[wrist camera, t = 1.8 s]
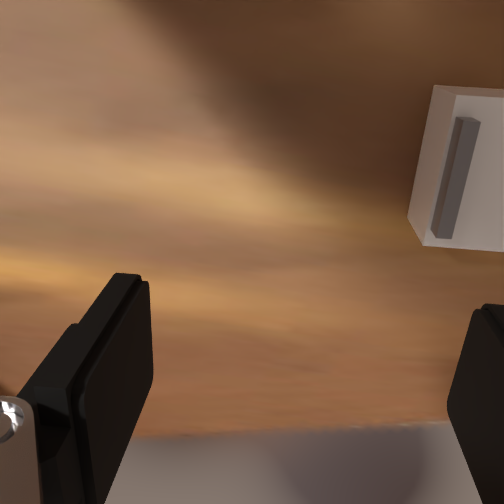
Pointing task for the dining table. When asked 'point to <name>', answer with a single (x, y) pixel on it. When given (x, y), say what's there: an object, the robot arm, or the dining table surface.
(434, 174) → the white box with handle
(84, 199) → the dining table surface
